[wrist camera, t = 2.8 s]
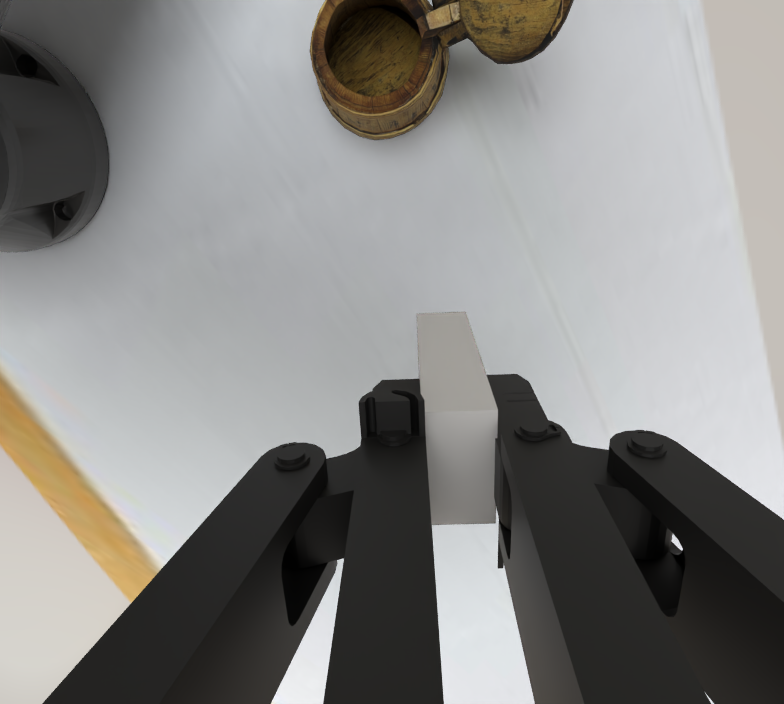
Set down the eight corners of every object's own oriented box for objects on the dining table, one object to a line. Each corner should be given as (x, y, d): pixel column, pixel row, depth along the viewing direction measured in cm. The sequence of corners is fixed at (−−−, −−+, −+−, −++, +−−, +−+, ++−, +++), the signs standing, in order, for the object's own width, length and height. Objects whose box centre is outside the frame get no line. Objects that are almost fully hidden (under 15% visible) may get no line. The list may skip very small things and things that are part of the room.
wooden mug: (521, 99, 39) (608, 75, 23) (338, 153, 41) (292, 168, 24) (496, -46, 36) (575, -199, 20) (299, 18, 38) (215, -72, 21)
